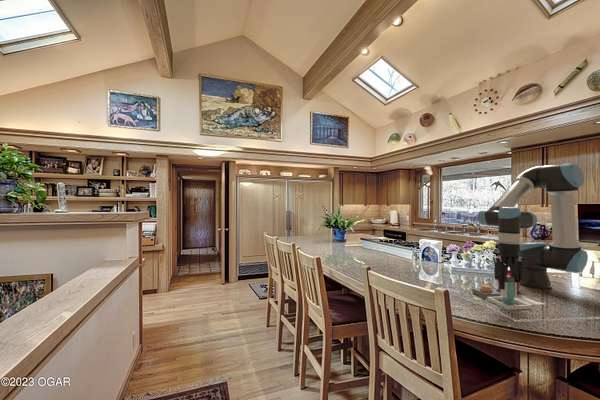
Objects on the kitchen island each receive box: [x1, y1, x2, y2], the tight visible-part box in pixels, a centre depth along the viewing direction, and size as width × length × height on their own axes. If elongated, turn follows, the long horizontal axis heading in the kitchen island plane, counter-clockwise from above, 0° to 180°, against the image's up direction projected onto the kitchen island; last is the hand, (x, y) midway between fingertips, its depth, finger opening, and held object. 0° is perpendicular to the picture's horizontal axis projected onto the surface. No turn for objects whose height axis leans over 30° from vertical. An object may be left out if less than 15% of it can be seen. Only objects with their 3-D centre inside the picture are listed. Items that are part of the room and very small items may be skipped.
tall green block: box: [502, 275, 515, 305], centre depth 117 cm, size 4×4×12 cm
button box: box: [471, 287, 501, 300], centre depth 128 cm, size 8×8×3 cm
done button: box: [480, 284, 493, 293], centre depth 128 cm, size 4×4×4 cm
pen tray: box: [486, 296, 533, 311], centre depth 117 cm, size 11×11×2 cm
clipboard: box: [514, 293, 546, 306], centre depth 124 cm, size 12×14×1 cm
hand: (508, 296), depth 117 cm, fingers closed on tall green block, 4 cm apart
